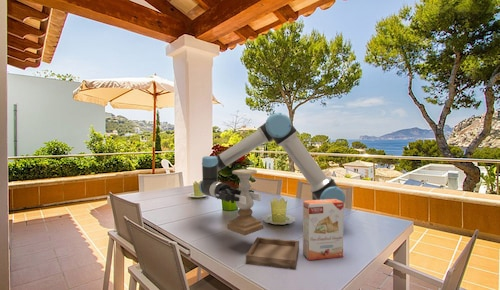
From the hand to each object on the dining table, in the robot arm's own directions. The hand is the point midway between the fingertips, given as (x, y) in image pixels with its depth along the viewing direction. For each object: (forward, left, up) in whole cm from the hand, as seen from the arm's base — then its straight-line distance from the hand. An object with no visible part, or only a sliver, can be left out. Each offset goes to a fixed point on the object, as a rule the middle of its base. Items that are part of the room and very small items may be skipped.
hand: (252, 199), depth 100 cm
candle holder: (+4, -3, -13) cm, 14 cm away
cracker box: (-27, -2, -21) cm, 34 cm away
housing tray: (-9, +2, -21) cm, 22 cm away
